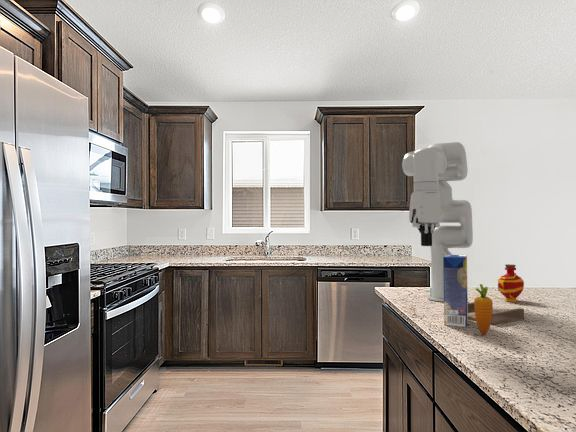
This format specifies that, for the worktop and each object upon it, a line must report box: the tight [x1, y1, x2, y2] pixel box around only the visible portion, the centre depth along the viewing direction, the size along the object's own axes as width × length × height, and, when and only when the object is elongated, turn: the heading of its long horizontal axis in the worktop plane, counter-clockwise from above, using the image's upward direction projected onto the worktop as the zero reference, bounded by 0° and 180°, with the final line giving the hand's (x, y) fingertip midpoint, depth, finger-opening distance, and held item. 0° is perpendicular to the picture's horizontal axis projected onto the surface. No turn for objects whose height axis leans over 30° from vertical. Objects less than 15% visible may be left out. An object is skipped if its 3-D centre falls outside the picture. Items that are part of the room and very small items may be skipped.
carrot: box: [473, 283, 494, 337], centre depth 128 cm, size 5×5×15 cm
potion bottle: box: [497, 263, 525, 303], centre depth 184 cm, size 10×10×15 cm
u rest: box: [468, 301, 525, 326], centre depth 153 cm, size 17×16×4 cm
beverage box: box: [443, 254, 469, 328], centre depth 146 cm, size 7×11×22 cm, turn 156°
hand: (426, 245), depth 140 cm, fingers closed
